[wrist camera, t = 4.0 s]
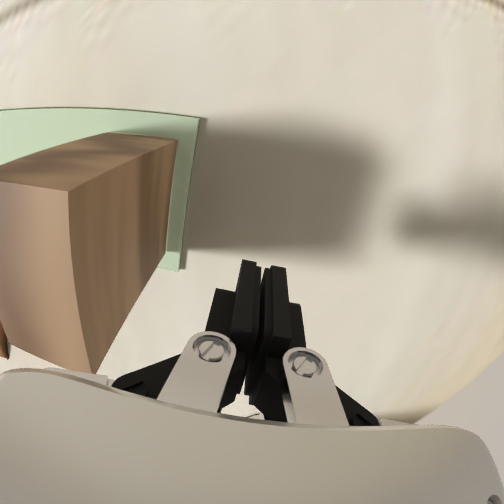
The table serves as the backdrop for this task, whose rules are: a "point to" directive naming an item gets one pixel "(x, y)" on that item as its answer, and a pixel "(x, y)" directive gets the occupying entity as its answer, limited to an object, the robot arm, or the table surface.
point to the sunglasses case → (3, 343)
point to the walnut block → (81, 242)
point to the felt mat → (97, 122)
